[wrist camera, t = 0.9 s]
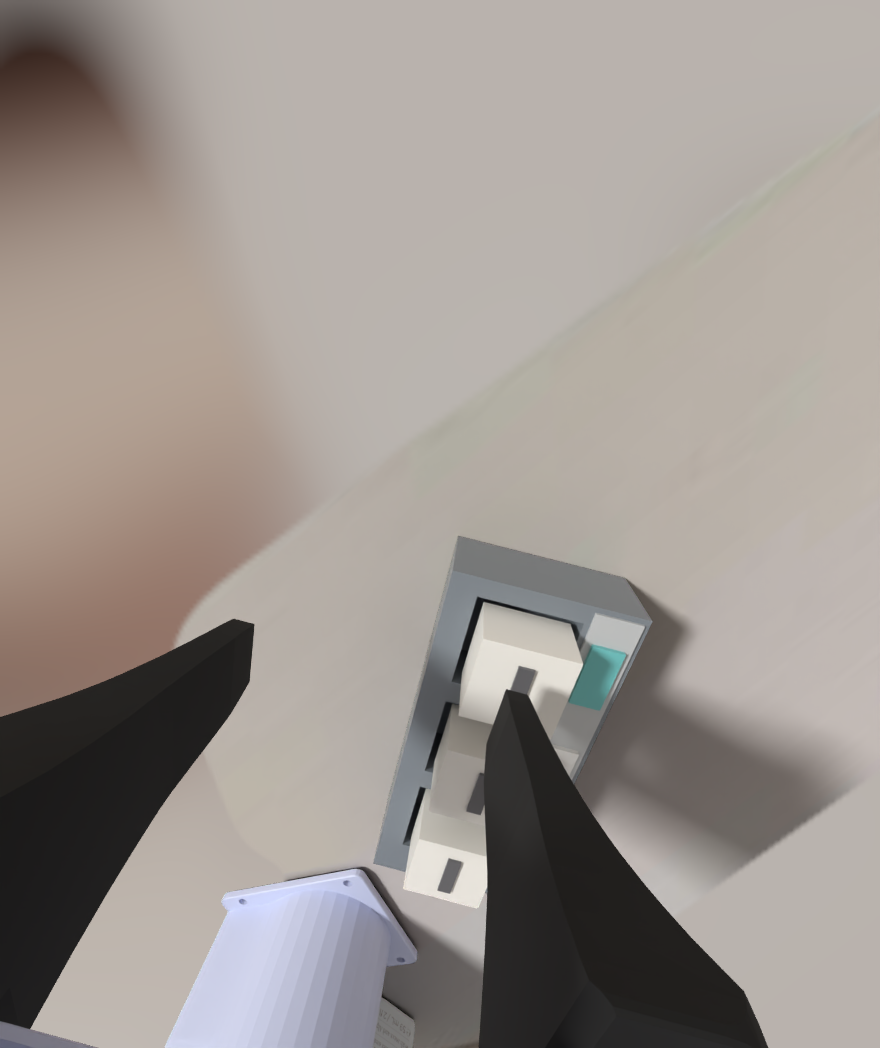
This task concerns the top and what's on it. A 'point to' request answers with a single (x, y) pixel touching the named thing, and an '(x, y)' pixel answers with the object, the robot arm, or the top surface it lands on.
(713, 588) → the top surface
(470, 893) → the button
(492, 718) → the button
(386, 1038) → the skincare box
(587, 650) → the console
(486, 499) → the top surface
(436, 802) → the button middle
